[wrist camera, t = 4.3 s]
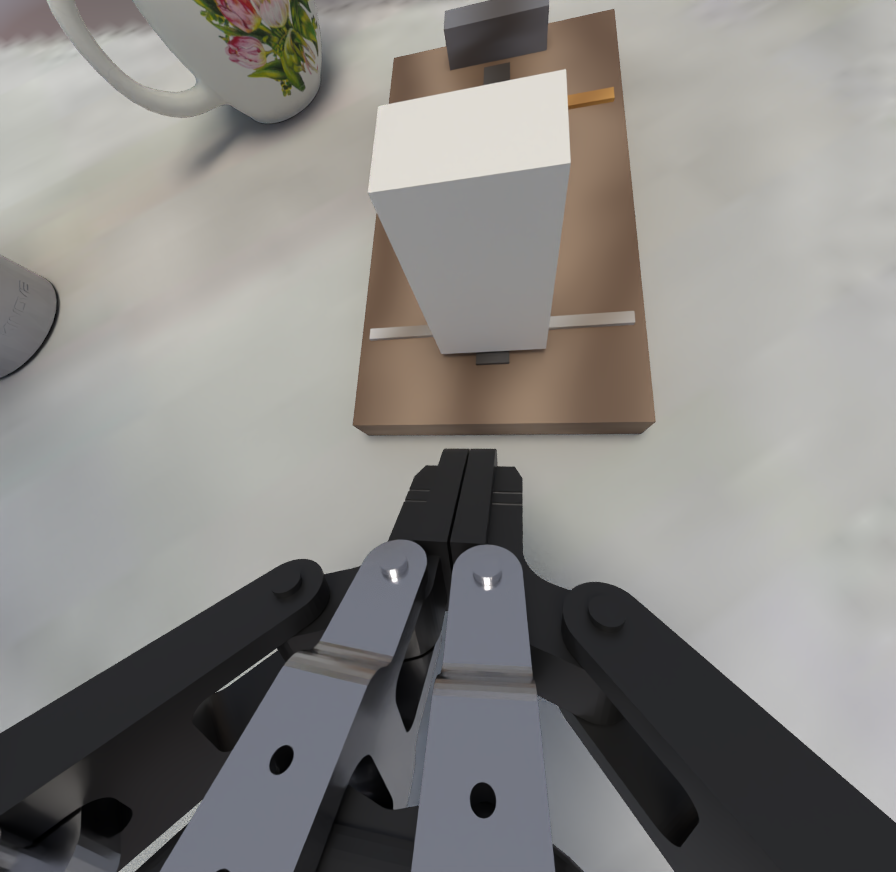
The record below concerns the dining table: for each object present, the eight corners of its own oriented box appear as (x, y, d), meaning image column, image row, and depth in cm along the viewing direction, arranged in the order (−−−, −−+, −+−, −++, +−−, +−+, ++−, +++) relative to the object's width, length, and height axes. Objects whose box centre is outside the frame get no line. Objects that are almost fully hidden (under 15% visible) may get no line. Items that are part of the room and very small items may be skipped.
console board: (368, 435, 20) (333, 413, 16) (403, 91, 27) (383, 18, 23) (641, 433, 17) (674, 406, 14) (606, 50, 24) (622, -41, 20)
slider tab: (441, 354, 18) (368, 193, 9) (444, 300, 19) (378, 106, 10) (545, 348, 17) (571, 162, 8) (544, 292, 18) (565, 69, 9)
